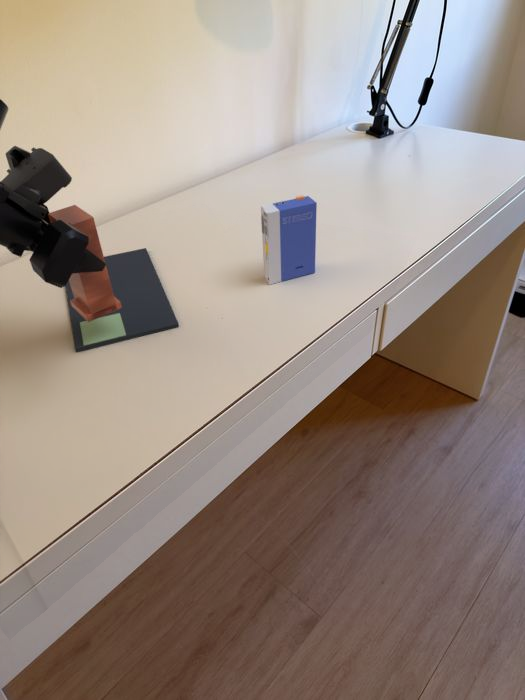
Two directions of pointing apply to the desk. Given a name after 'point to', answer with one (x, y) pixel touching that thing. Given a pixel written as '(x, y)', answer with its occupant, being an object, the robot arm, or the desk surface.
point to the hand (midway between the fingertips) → (94, 259)
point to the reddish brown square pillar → (90, 286)
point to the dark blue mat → (126, 304)
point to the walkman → (289, 238)
